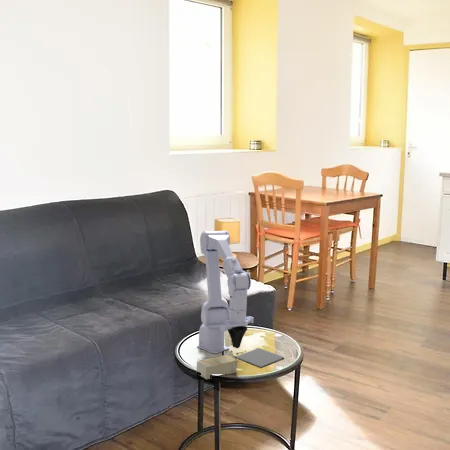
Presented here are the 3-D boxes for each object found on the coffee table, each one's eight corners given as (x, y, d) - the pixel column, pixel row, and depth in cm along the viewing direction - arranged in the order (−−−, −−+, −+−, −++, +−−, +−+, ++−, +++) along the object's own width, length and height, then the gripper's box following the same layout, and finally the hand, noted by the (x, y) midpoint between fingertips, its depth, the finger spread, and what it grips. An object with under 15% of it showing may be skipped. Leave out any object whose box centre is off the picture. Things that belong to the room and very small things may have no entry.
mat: (235, 357, 205) (235, 356, 205) (258, 349, 214) (258, 348, 214) (260, 367, 197) (260, 366, 197) (284, 358, 206) (284, 357, 206)
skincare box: (237, 360, 192) (207, 367, 185) (236, 373, 192) (206, 380, 185) (226, 354, 197) (196, 360, 190) (226, 366, 197) (196, 373, 190)
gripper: (231, 315, 184) (230, 355, 186) (261, 307, 194) (259, 345, 196) (216, 310, 188) (214, 349, 191) (245, 302, 199) (243, 339, 201)
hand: (236, 347), depth 194 cm, fingers closed
